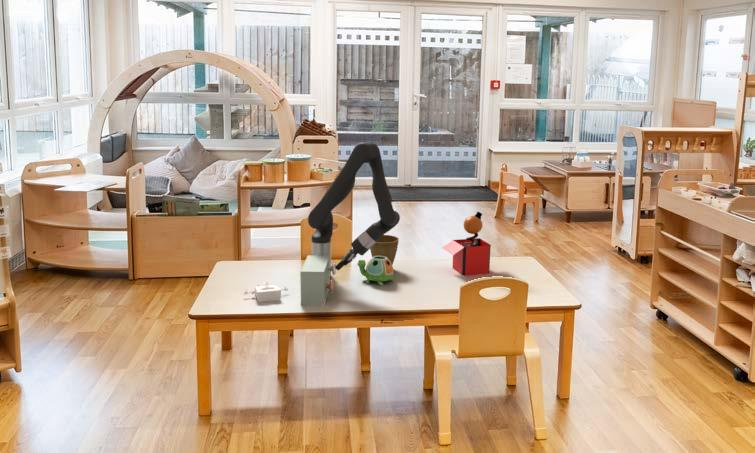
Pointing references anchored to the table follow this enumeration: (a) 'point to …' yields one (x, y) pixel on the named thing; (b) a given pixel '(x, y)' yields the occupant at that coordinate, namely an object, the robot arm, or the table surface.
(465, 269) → the jack-in-the-box
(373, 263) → the turtle holder
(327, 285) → the plunger terracotta
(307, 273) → the console
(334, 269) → the plunger cream
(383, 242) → the plant pot
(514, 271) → the table surface
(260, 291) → the cartoon character
